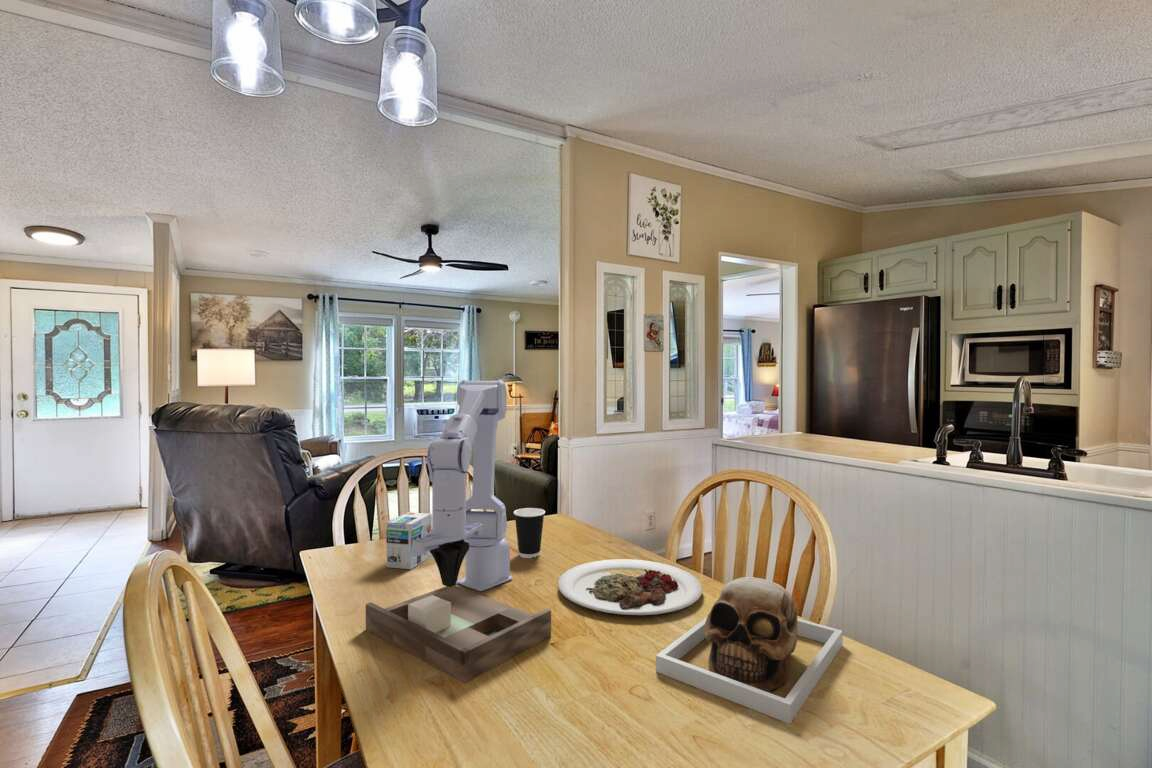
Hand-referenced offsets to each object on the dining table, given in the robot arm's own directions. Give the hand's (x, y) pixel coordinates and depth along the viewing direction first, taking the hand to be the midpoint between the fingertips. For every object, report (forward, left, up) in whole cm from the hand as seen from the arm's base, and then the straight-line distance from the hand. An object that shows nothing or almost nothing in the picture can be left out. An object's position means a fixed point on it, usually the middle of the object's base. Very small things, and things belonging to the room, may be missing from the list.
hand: (449, 584), depth 96 cm
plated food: (-36, +14, -9) cm, 40 cm away
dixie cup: (-39, -18, -9) cm, 44 cm away
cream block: (+4, 0, -6) cm, 7 cm away
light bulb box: (-17, -37, -9) cm, 42 cm away
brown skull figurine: (-23, +45, -9) cm, 51 cm away
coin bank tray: (-25, +45, -8) cm, 52 cm away
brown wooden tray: (-1, +1, -8) cm, 9 cm away
